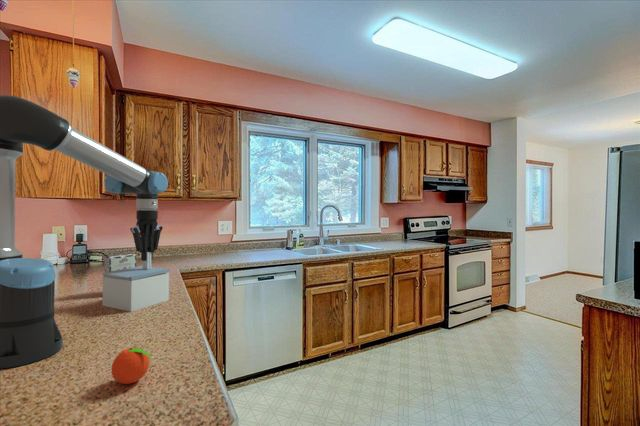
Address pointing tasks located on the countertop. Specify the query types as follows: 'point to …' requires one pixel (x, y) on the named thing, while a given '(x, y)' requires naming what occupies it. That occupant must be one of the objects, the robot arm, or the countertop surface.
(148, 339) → the countertop surface
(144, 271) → the lid
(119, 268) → the candy bar box
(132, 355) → the clementine
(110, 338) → the countertop surface
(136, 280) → the storage box
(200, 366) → the countertop surface
